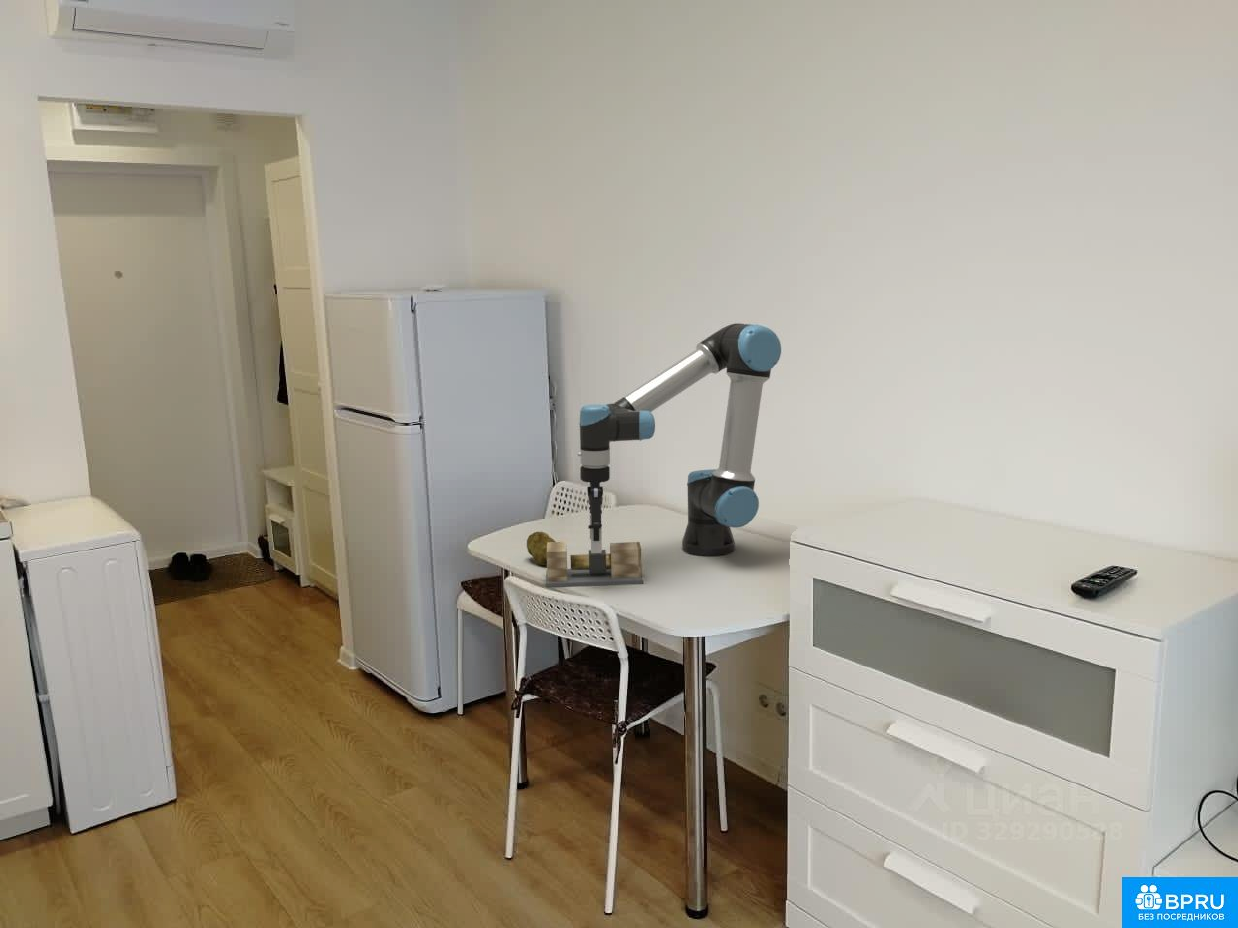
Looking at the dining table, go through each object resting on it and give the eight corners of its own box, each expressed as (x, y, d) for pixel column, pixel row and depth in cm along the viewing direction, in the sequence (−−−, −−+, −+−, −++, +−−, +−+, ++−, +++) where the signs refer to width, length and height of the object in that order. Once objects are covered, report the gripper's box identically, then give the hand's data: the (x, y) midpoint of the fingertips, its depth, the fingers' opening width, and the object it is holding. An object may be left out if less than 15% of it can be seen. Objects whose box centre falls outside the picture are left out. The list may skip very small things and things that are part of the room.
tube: (635, 567, 258) (634, 548, 257) (636, 572, 254) (636, 553, 253) (570, 569, 257) (570, 550, 256) (570, 574, 253) (570, 555, 252)
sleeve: (639, 569, 259) (639, 541, 258) (641, 577, 252) (641, 549, 251) (610, 570, 259) (609, 542, 258) (611, 578, 252) (611, 550, 251)
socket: (567, 570, 259) (566, 541, 258) (567, 580, 251) (566, 551, 249) (548, 571, 259) (547, 542, 258) (547, 581, 250) (546, 551, 249)
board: (640, 569, 262) (639, 566, 262) (643, 583, 250) (643, 580, 250) (546, 573, 261) (546, 569, 261) (545, 587, 249) (545, 583, 249)
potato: (534, 570, 263) (532, 542, 262) (525, 557, 276) (523, 530, 274) (564, 567, 266) (563, 539, 264) (553, 554, 278) (552, 527, 276)
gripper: (579, 456, 262) (580, 533, 266) (580, 475, 237) (581, 559, 241) (607, 456, 262) (608, 533, 266) (611, 474, 238) (612, 558, 242)
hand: (595, 545), depth 254 cm, fingers open, 13 cm apart
